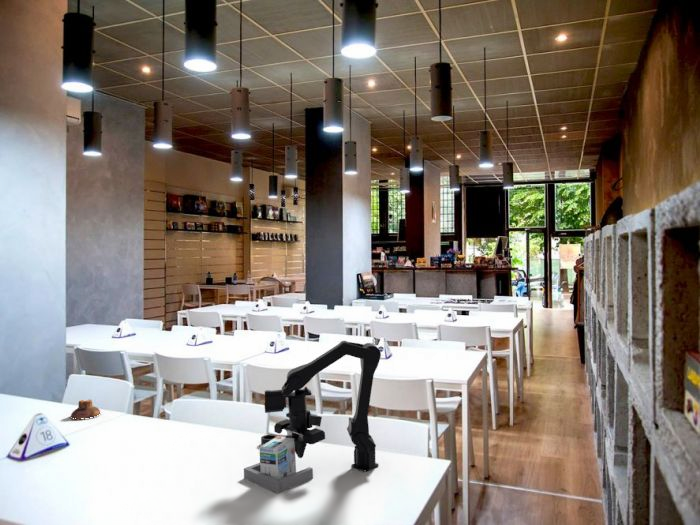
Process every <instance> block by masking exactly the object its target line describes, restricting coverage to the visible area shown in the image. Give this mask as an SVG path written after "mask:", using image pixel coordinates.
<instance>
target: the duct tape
mask: <svg viewBox="0 0 700 525" xmlns="http://www.w3.org/2000/svg"><path fill="white" fill-rule="evenodd" d="M276 437H278V436H277V435H276V434H264V435H262V436H261V437H260V438H261V439H260V440H261V441H260V445H261V446H262V445H264V444H265V443H267V442H269V441H271V440H272V439H274V438H276Z"/></svg>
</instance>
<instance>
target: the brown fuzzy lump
mask: <svg viewBox="0 0 700 525" xmlns="http://www.w3.org/2000/svg"><path fill="white" fill-rule="evenodd" d="M100 412H101V410H100V409H99V407H97V406H94V405H93V400H92V399H91V398H89V399H87V400H83V399H81V400H78V407H77V408H76V409H74V410H73V411H72V412H71V413H70V418H71V417H72V418H74V419H75V418H76V419H81V418H90V417H94V416H97V415H99V414H100V415H101V413H100ZM72 418H71V419H72Z"/></svg>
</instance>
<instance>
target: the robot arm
mask: <svg viewBox="0 0 700 525" xmlns="http://www.w3.org/2000/svg"><path fill="white" fill-rule="evenodd" d="M346 355H347V356H350V357H353V358H358V359H360V369H361V371H360V377H359V384H358V385H359V386H358V393H357V399H356V406H355V412H354V415H353V417H348V425H347V428H346V430H347V432H348V436H349V437H350V440H351V442H352V444H353V445H355V446H354V450H353V463H352V464H351V467H353V468H355V469H358V470H360V471H364V472H368V471H371V470H372V469H376V468H377V467H379V463H377V462H376V446H377V444H376V442H375V440H374V439H373V437H372V435H370V431H369V430H370V428H369V418H368V417H369V410H370V401H371V396H372V389H373V383H374V377H375V376H374V374H375V372H376V370H377V368H378V366H379V363H380V360H381V358H382V357H381V356H382V355H381V350H380V349H379V347H377V346H376V345H375V344H374V343H372V342H366V343H364V344H362V343H359V342H358V343H357V342H351V341H347V340H342V341H339V343H338V344H337V345H335V346H333V347H332V348H330V349H328V350H327V351H325V352H324V353H322V354H321V355H320V356H317V357H316V358H315V359H313V360H312V361H310V362H308V363H305V364H302V365H299V366H296V367H294V368H292V369H290V370H289V371H288V372H287V375H286V380H285V382H284V384H283V385H282V387H281V389H275V390H274V389H273V390H270V389H269V390H267V389H266V390H264V413H265V414H271V413H279V412H280V413H281V412H284V410H285V409H286V408H287V405H288V412H287V413H286V414H285V418H286V419H283V420H280V421H278V422H275V424H274V427H273V429H274V433H277V434H282V432H283V430H285V431H286V435H285V437H286V438H294V442H295V455H296V456H297V458H299V459H302V458H304V455H305V450H306V446H307V444H308V445H314V444H317V443H319V442H321V441H323V440H325V439H326V433H325V431H324V430H323V429H320V428H321V424H322V419H323V418H322V417H323V416H321V415H318V414H313V413H311V410H309V409H308V408H307V397H308V396H312V395H313V394H312V390H311V389H309V388H308V387H307V386H306V385H307V384H308V383H310V382H311V381H312V378H314V376H316V375H317V374H318V373H320V372H322V371H323V370H325V369H326V368H328V367H330V366H331V365H333V364H334V363H336V362H337V361H339V360H340V359H342V358H343V357H346ZM287 418H288V419H287ZM313 426H317V427H320V428H316V427H315V428H313ZM311 428H312V429H311Z"/></svg>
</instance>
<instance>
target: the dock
mask: <svg viewBox="0 0 700 525" xmlns="http://www.w3.org/2000/svg"><path fill="white" fill-rule="evenodd" d="M313 469H314V468H312V467H310V466H308V467H306V468H305V469H302V470H299V471H296V473H294V474H291V475H289V476H286V477H284V478H281V479H279V480H277V479H275V478H272V477H270V476H268V475H265V474H263V473H261V469H260V462H258V463H255V464H252V465H250V466H247V467H244V468H243V479H245V480H247V481H249V482H251V481H252V483H254V484H256V485H258V486H261V487H262V486H263V488H265V489H267V490H270V491H272V492H273V491H274V493H276V494H279V493H281V492H283V491H286V490H288V489H290V488H293V487H296V486H298V485H301V484H302V483H304V482H307V481H310V480H312V479H313V478H314V474H313V473H314V470H313Z"/></svg>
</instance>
